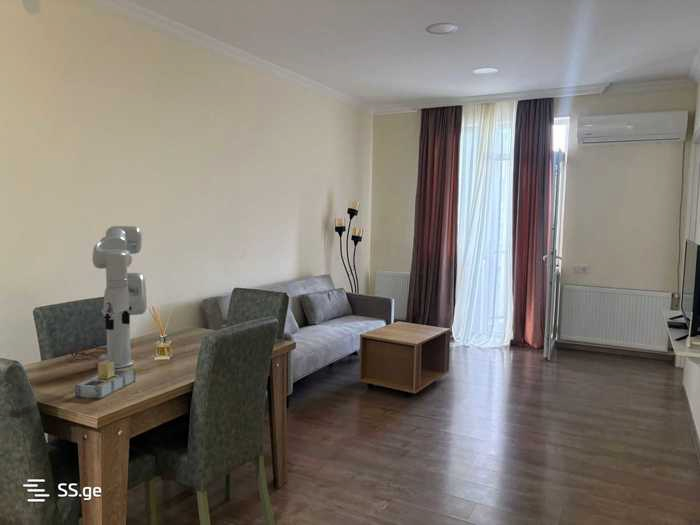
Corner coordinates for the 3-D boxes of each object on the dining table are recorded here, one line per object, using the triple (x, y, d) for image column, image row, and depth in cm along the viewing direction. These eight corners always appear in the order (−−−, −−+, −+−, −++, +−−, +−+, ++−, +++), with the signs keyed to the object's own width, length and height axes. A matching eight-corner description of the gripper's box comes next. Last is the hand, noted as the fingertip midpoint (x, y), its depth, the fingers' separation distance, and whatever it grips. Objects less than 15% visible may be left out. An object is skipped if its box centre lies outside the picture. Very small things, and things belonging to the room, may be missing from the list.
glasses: (85, 352, 257) (85, 342, 257) (112, 352, 257) (111, 342, 256) (70, 359, 244) (70, 349, 244) (98, 360, 244) (98, 349, 243)
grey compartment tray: (75, 397, 191) (74, 385, 191) (113, 379, 213) (112, 368, 213) (99, 399, 190) (99, 387, 189) (135, 381, 211) (135, 370, 211)
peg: (98, 389, 200) (97, 363, 199) (105, 385, 204) (104, 360, 203) (108, 389, 199) (107, 363, 198) (114, 386, 203) (114, 361, 202)
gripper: (122, 279, 214) (123, 321, 216) (93, 286, 197) (94, 331, 199) (139, 280, 212) (139, 322, 214) (110, 287, 195) (111, 332, 197)
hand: (118, 326), depth 207 cm, fingers open, 9 cm apart
